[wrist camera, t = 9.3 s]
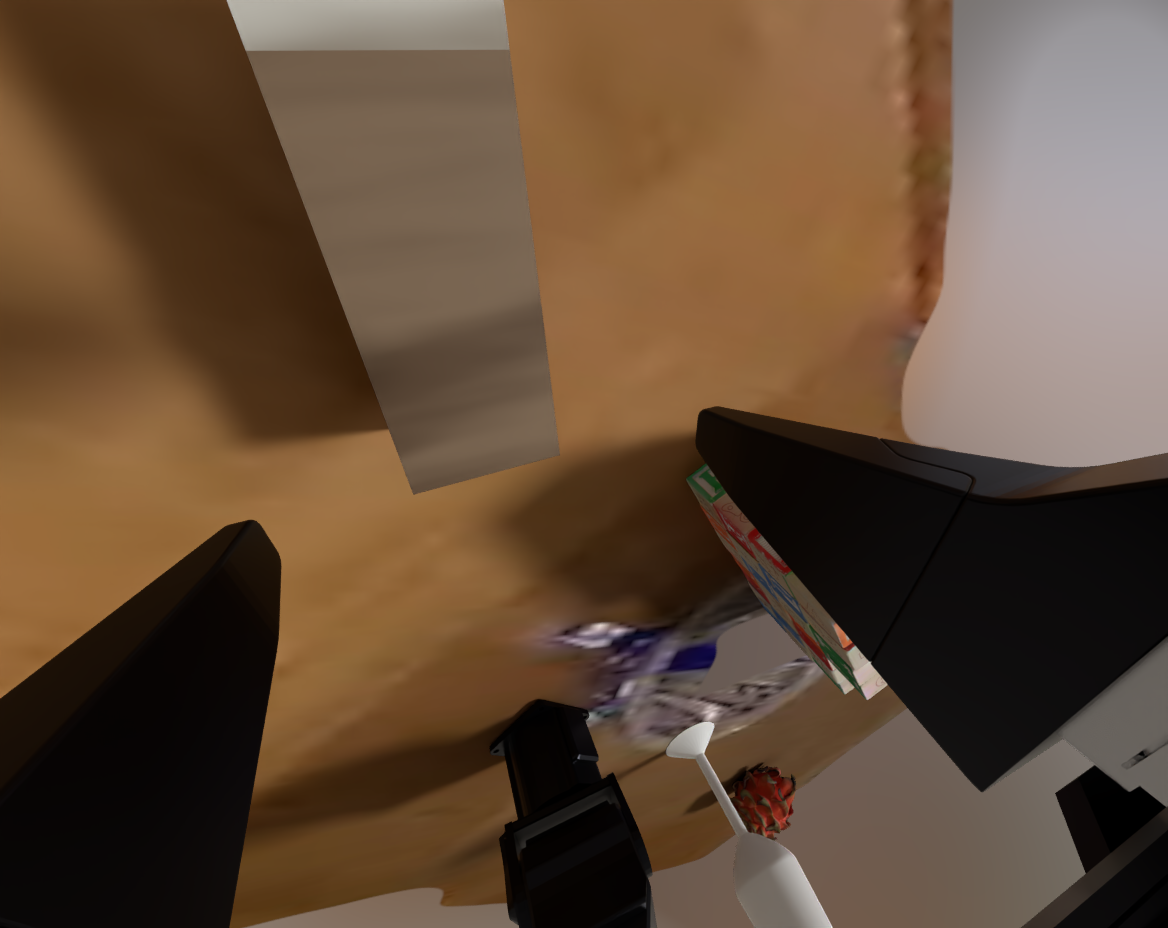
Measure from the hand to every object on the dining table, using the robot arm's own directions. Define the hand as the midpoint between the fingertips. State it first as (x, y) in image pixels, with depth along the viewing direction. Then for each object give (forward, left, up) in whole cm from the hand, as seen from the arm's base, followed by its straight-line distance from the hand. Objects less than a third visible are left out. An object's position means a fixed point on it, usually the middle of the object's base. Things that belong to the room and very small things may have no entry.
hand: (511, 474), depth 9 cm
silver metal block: (-3, -3, -9) cm, 10 cm away
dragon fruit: (-25, -76, -12) cm, 81 cm away
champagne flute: (-20, -50, -12) cm, 55 cm away
